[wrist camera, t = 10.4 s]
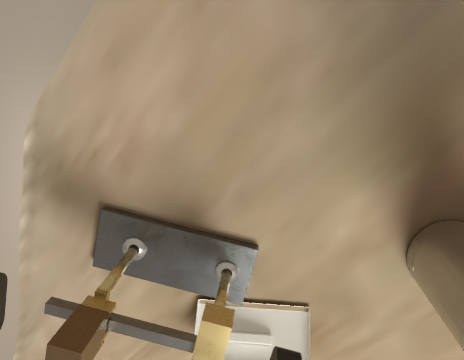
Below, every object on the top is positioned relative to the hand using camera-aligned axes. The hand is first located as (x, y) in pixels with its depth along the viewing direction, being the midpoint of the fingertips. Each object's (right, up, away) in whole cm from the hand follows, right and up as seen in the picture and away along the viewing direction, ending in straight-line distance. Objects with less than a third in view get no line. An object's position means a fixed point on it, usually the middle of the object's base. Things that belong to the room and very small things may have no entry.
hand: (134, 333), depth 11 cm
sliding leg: (-10, -6, +38) cm, 40 cm away
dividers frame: (-6, -6, +38) cm, 39 cm away
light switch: (+6, -15, +42) cm, 45 cm away
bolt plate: (-4, -5, +39) cm, 40 cm away
